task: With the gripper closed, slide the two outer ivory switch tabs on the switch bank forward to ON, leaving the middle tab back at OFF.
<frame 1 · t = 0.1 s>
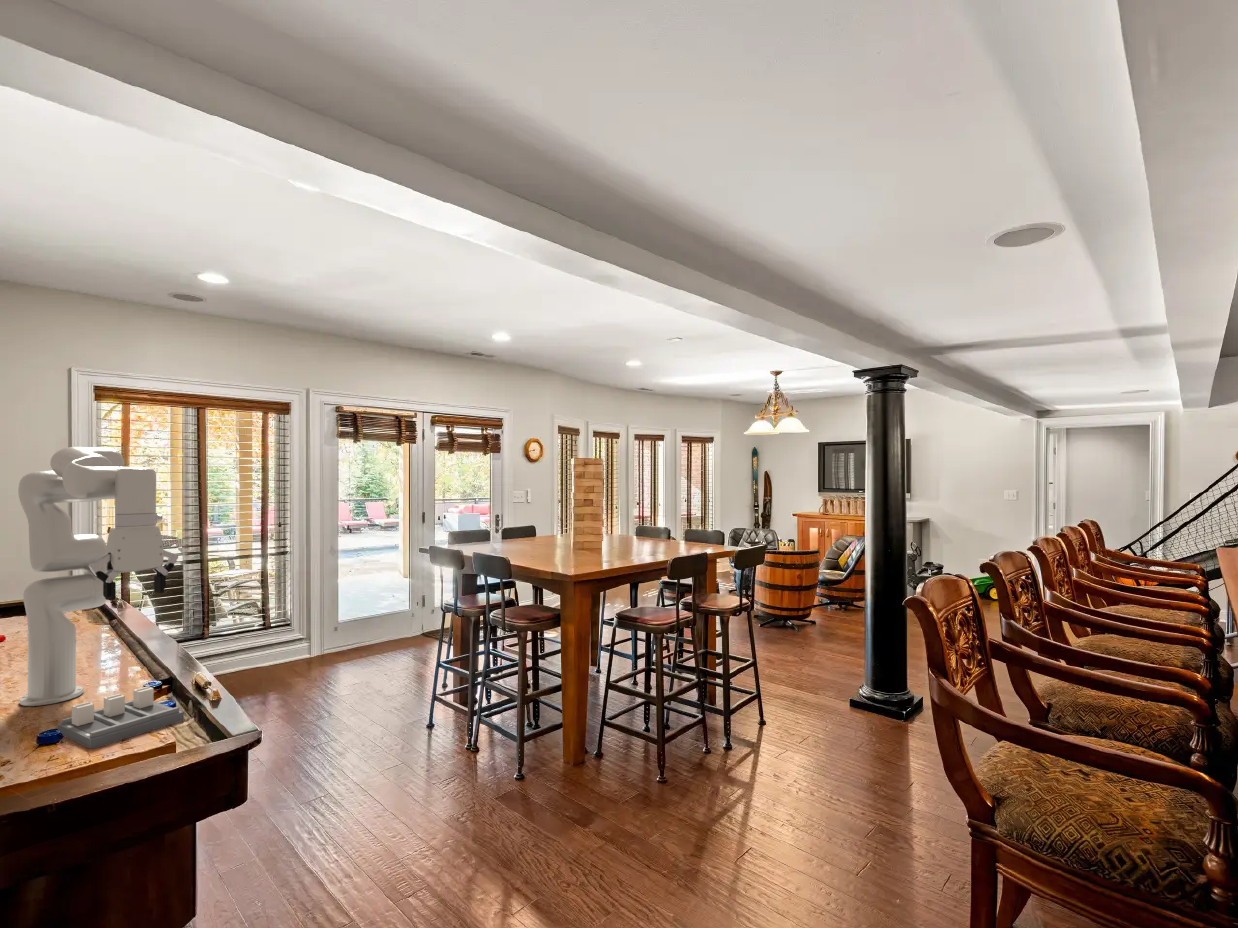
hand: (135, 595, 145), 31 cm above the table, fingers open, 9 cm apart
tab 1: (82, 712, 144), point 4 cm above the table, slide at 0.0 cm
tab 2: (114, 704, 149), point 4 cm above the table, slide at 0.0 cm
tab 3: (143, 696, 154), point 4 cm above the table, slide at 0.0 cm
switch bank: (122, 726, 147), on the table
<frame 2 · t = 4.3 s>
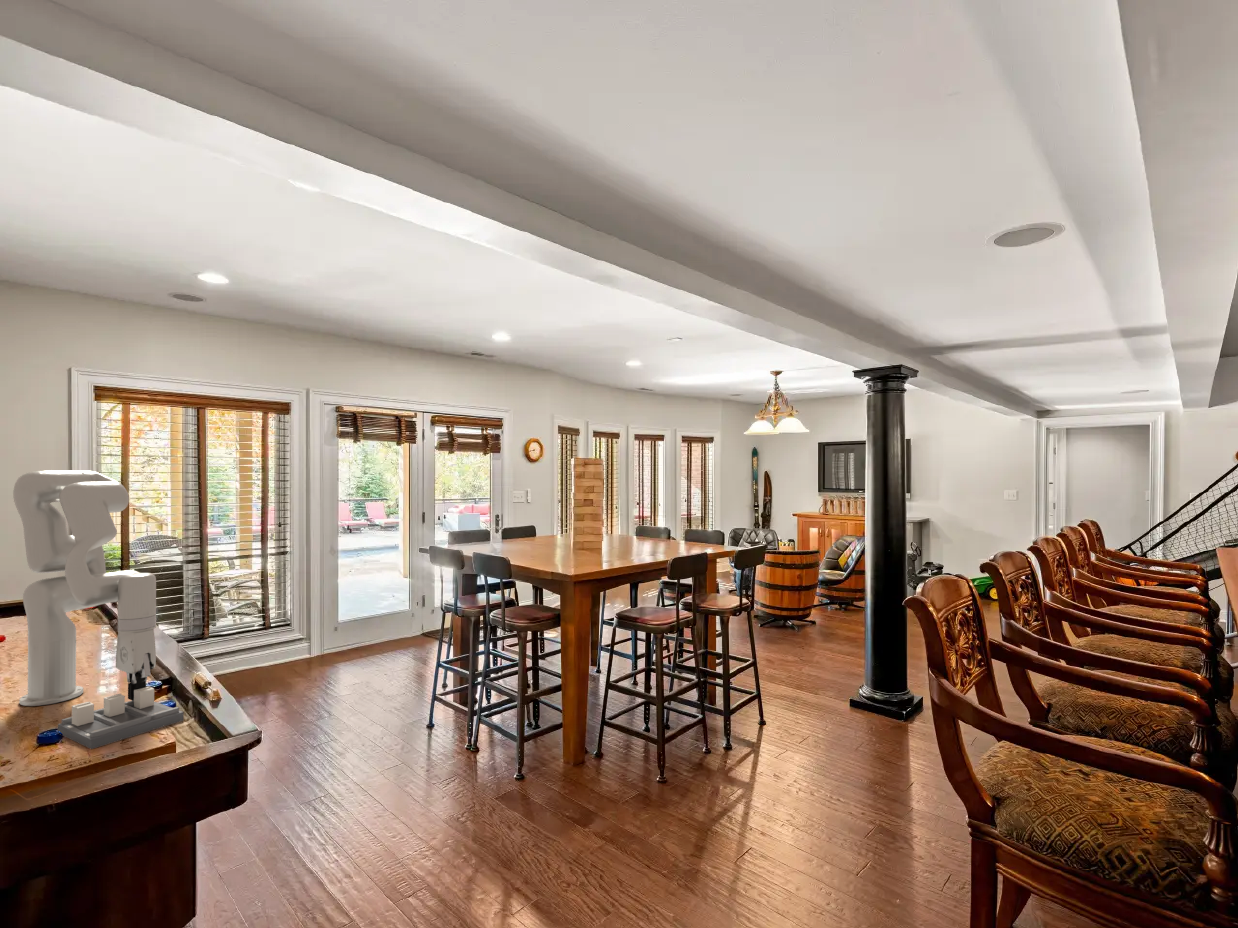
hand: (137, 697, 156), 3 cm above the table, fingers closed
tab 3: (144, 696, 154), point 4 cm above the table, slide at 0.3 cm, touching gripper
everything else where it was.
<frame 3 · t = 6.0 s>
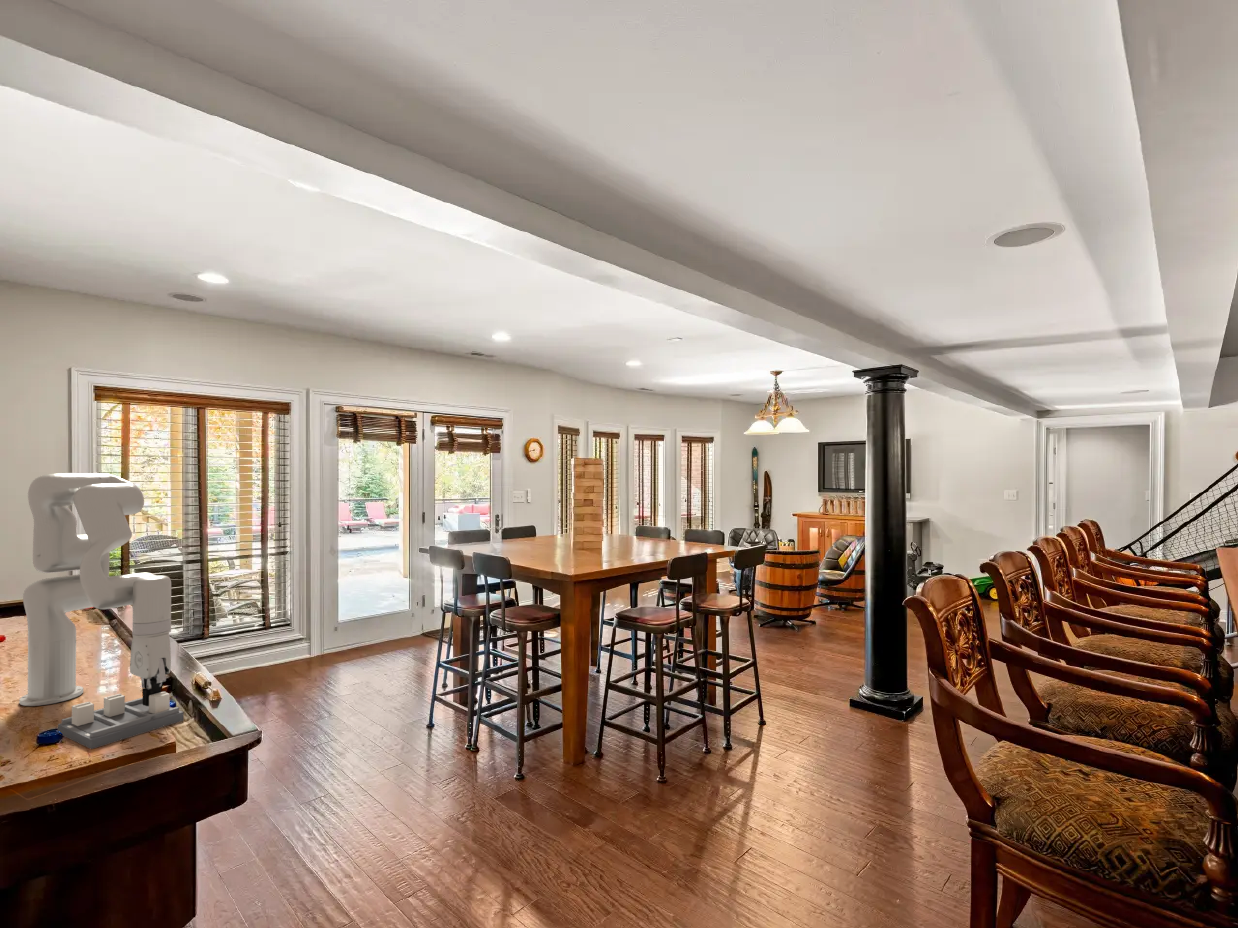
hand: (151, 703, 152), 3 cm above the table, fingers closed
tab 3: (159, 702, 151), point 4 cm above the table, slide at 7.7 cm, touching gripper
everything else where it was.
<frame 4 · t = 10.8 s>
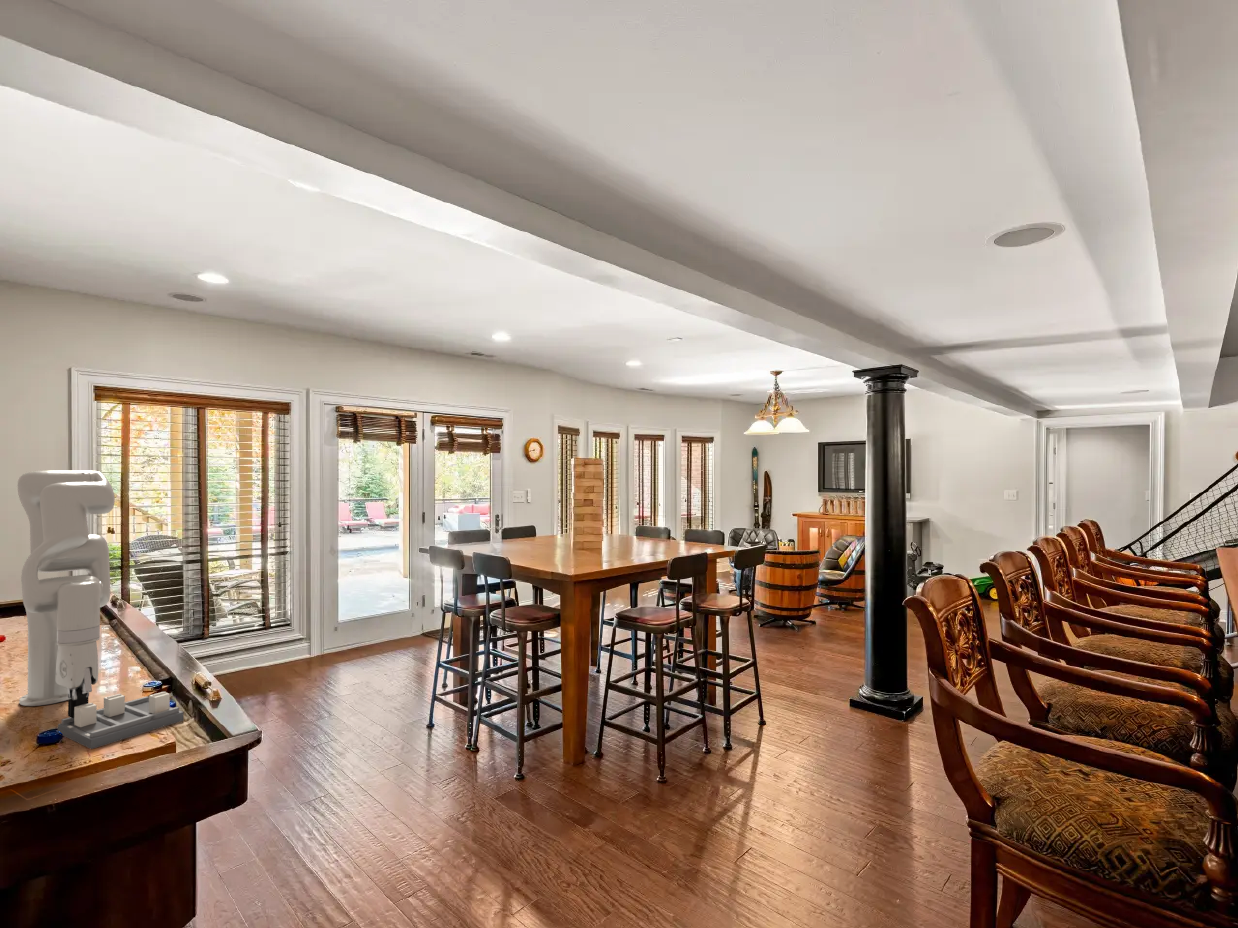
hand: (78, 715, 145), 3 cm above the table, fingers closed
tab 1: (85, 714, 143), point 4 cm above the table, slide at 1.4 cm, touching gripper
tab 3: (159, 702, 151), point 4 cm above the table, slide at 7.7 cm
everything else where it was.
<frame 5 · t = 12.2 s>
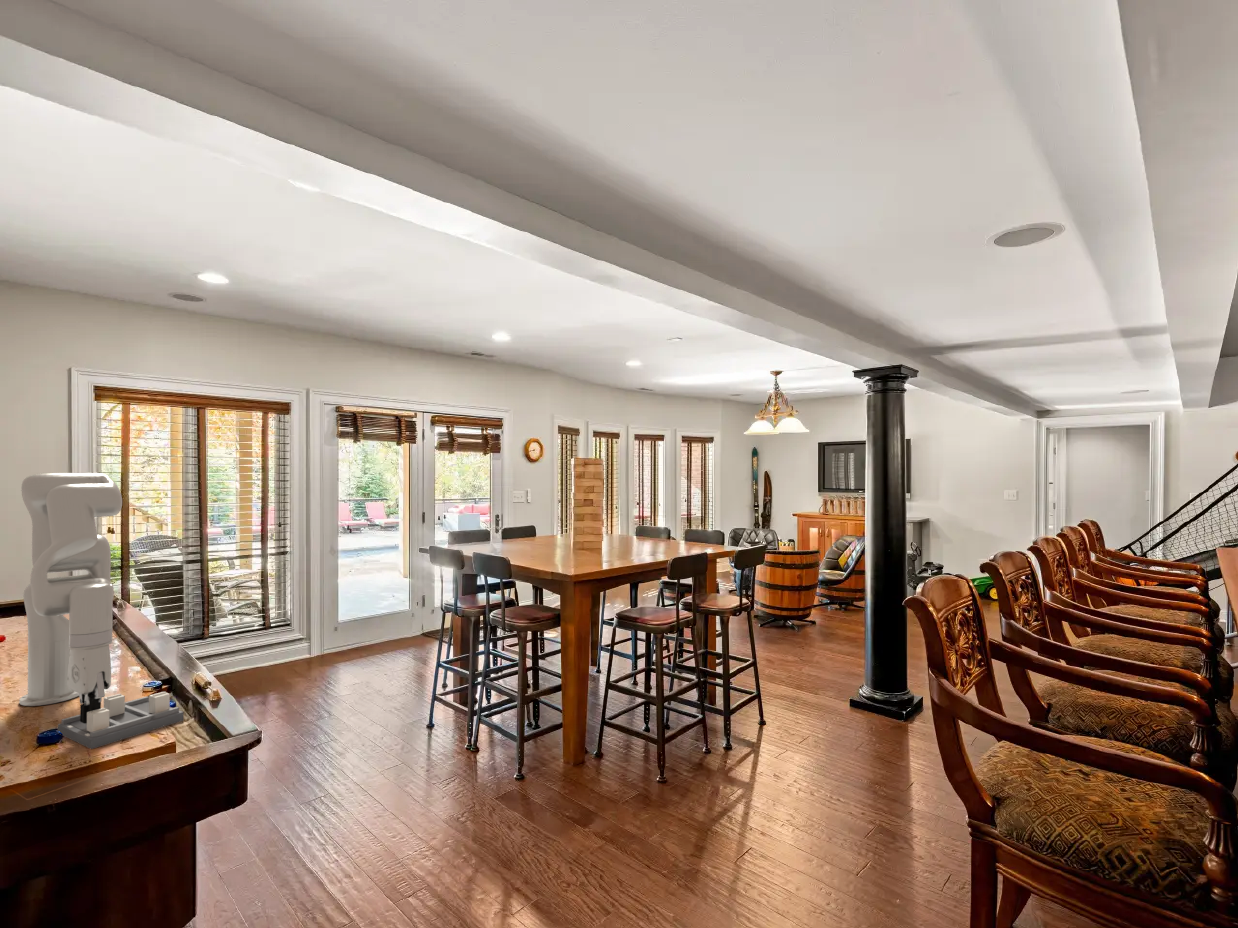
hand: (90, 720, 142), 3 cm above the table, fingers closed
tab 1: (98, 719, 140), point 4 cm above the table, slide at 7.7 cm, touching gripper
everything else where it was.
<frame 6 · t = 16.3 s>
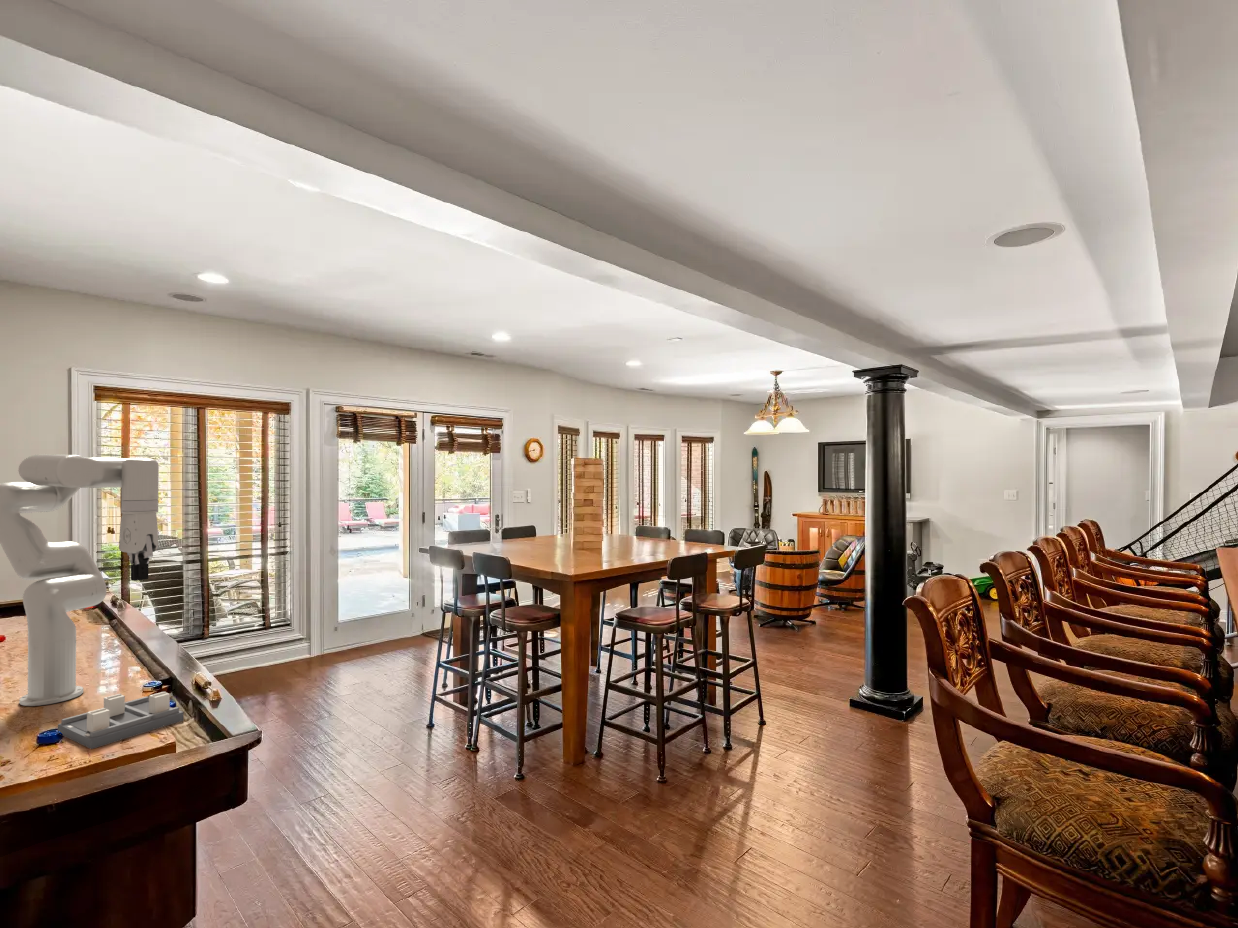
hand: (139, 579, 160), 32 cm above the table, fingers closed
tab 1: (98, 719, 140), point 4 cm above the table, slide at 7.7 cm
everything else where it was.
at the end: tab 1 slide at 7.7 cm; tab 3 slide at 7.7 cm; tab 2 slide at 0.0 cm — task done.
